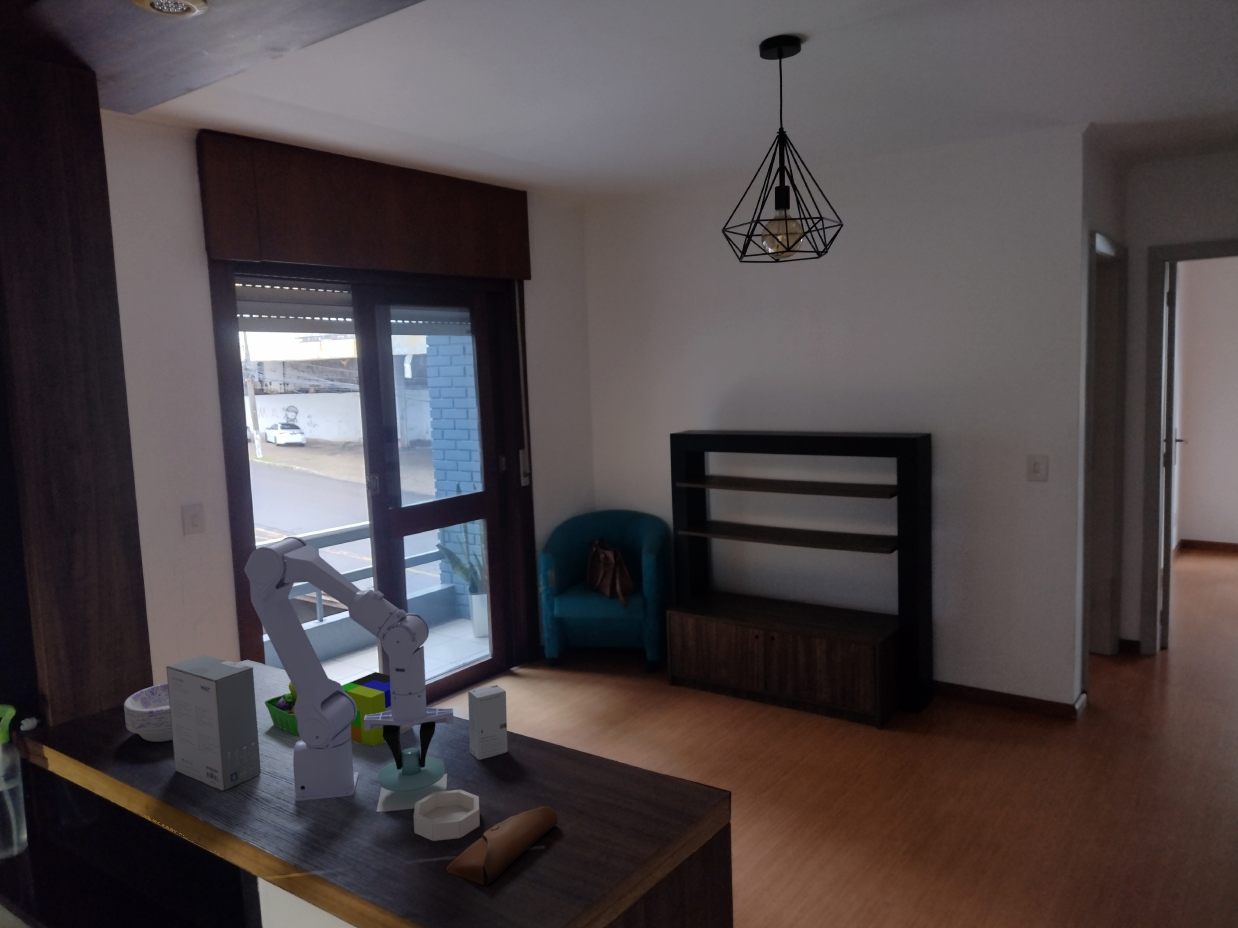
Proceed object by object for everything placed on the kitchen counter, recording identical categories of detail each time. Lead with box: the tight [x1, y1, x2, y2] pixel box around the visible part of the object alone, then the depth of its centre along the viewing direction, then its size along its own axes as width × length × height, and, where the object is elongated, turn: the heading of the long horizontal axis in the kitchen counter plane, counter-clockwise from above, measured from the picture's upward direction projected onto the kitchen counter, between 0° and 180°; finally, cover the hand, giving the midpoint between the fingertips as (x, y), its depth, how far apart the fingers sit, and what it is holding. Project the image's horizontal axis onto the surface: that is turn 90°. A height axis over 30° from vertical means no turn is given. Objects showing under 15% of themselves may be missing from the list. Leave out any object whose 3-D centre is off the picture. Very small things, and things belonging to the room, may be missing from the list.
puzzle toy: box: [341, 671, 413, 747], centre depth 171 cm, size 10×10×10 cm
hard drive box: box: [165, 654, 262, 792], centre depth 154 cm, size 16×8×20 cm, turn 57°
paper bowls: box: [123, 682, 173, 743], centre depth 173 cm, size 15×15×8 cm
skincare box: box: [467, 684, 508, 760], centre depth 160 cm, size 6×4×12 cm
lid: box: [377, 747, 446, 792], centre depth 146 cm, size 11×11×4 cm
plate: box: [376, 773, 448, 813], centre depth 146 cm, size 11×11×1 cm
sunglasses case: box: [445, 805, 558, 888], centre depth 129 cm, size 18×7×7 cm
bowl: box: [413, 789, 481, 842], centre depth 136 cm, size 10×10×3 cm
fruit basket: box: [264, 681, 299, 736], centre depth 175 cm, size 11×9×11 cm
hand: (411, 765), depth 146 cm, fingers closed on lid, 3 cm apart
